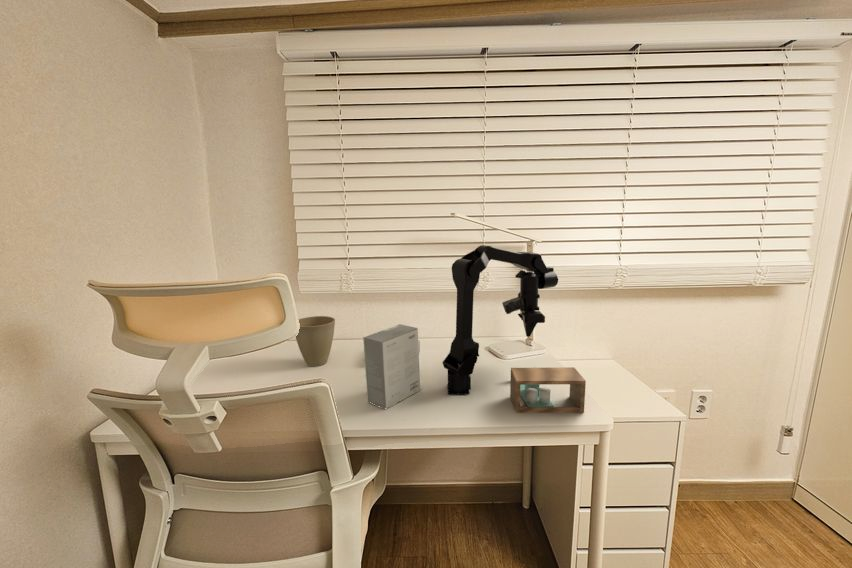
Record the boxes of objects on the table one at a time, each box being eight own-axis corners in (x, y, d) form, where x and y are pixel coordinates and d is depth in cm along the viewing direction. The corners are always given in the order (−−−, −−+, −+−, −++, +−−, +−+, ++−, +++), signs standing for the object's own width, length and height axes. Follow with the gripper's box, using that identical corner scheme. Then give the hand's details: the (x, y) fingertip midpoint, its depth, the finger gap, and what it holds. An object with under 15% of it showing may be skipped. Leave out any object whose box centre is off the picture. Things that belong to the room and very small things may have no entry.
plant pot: (341, 365, 140) (339, 322, 137) (298, 373, 134) (295, 329, 131) (332, 352, 153) (330, 313, 150) (293, 359, 147) (289, 318, 144)
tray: (510, 381, 125) (511, 367, 124) (532, 380, 125) (532, 366, 124) (528, 409, 107) (529, 392, 106) (553, 408, 107) (554, 391, 106)
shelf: (515, 412, 105) (516, 381, 103) (510, 396, 114) (510, 367, 112) (584, 412, 104) (585, 380, 102) (572, 396, 113) (574, 367, 111)
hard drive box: (402, 384, 124) (400, 323, 120) (421, 390, 119) (419, 327, 115) (366, 402, 112) (362, 336, 109) (384, 410, 107) (381, 341, 104)
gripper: (500, 285, 137) (499, 328, 140) (509, 297, 119) (508, 346, 121) (532, 285, 136) (531, 328, 139) (546, 296, 118) (544, 345, 121)
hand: (528, 336), depth 130 cm, fingers closed
